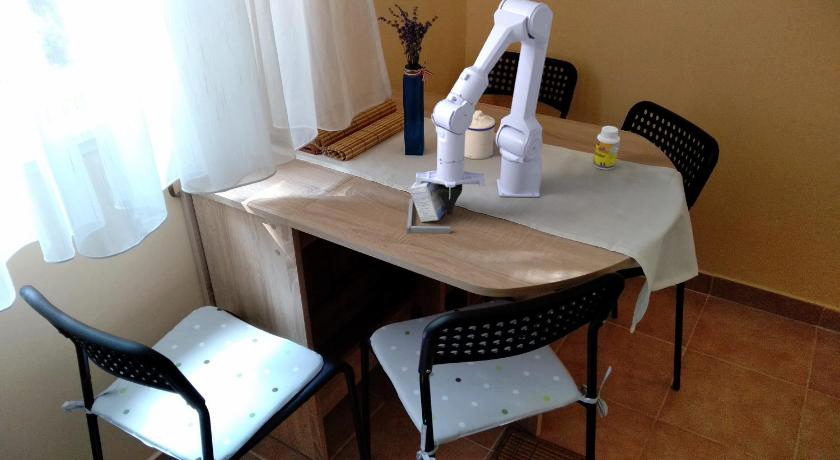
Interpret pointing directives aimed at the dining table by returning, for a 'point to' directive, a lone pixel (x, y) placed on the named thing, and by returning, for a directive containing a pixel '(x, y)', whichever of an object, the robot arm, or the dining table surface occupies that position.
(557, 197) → the dining table surface
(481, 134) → the teacup with lid
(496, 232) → the dining table surface
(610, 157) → the supplement bottle
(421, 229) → the grey bay
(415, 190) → the medicine box
